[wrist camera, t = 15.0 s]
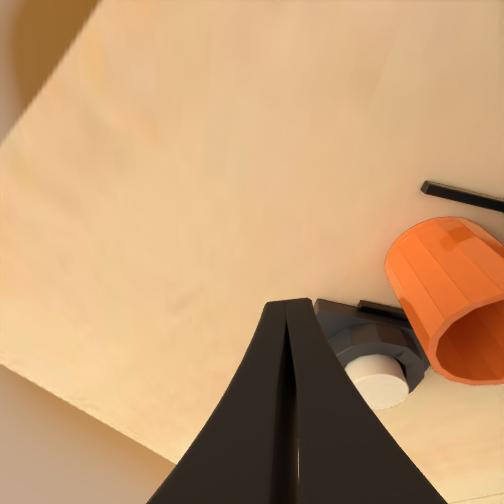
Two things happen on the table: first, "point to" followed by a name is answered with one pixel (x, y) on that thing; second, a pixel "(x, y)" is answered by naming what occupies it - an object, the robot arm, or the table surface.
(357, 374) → the button
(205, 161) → the table surface
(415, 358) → the button block
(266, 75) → the table surface
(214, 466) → the robot arm
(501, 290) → the cup
